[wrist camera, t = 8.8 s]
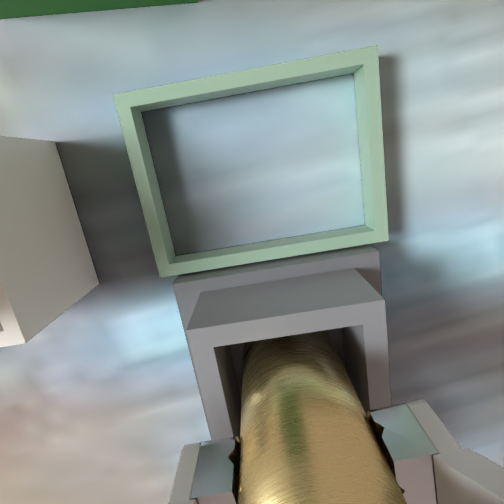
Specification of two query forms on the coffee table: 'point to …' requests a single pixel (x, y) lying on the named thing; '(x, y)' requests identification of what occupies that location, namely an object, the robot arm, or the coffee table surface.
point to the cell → (307, 429)
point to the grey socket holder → (284, 322)
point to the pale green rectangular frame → (251, 80)
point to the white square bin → (38, 241)
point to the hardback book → (73, 6)
